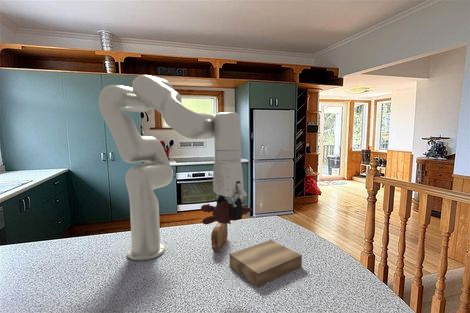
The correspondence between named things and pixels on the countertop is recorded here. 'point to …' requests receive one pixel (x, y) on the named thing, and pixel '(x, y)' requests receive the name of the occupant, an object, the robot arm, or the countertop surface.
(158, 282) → the countertop surface
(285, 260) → the base
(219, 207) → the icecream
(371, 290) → the countertop surface
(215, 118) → the robot arm
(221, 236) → the tin
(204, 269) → the countertop surface
